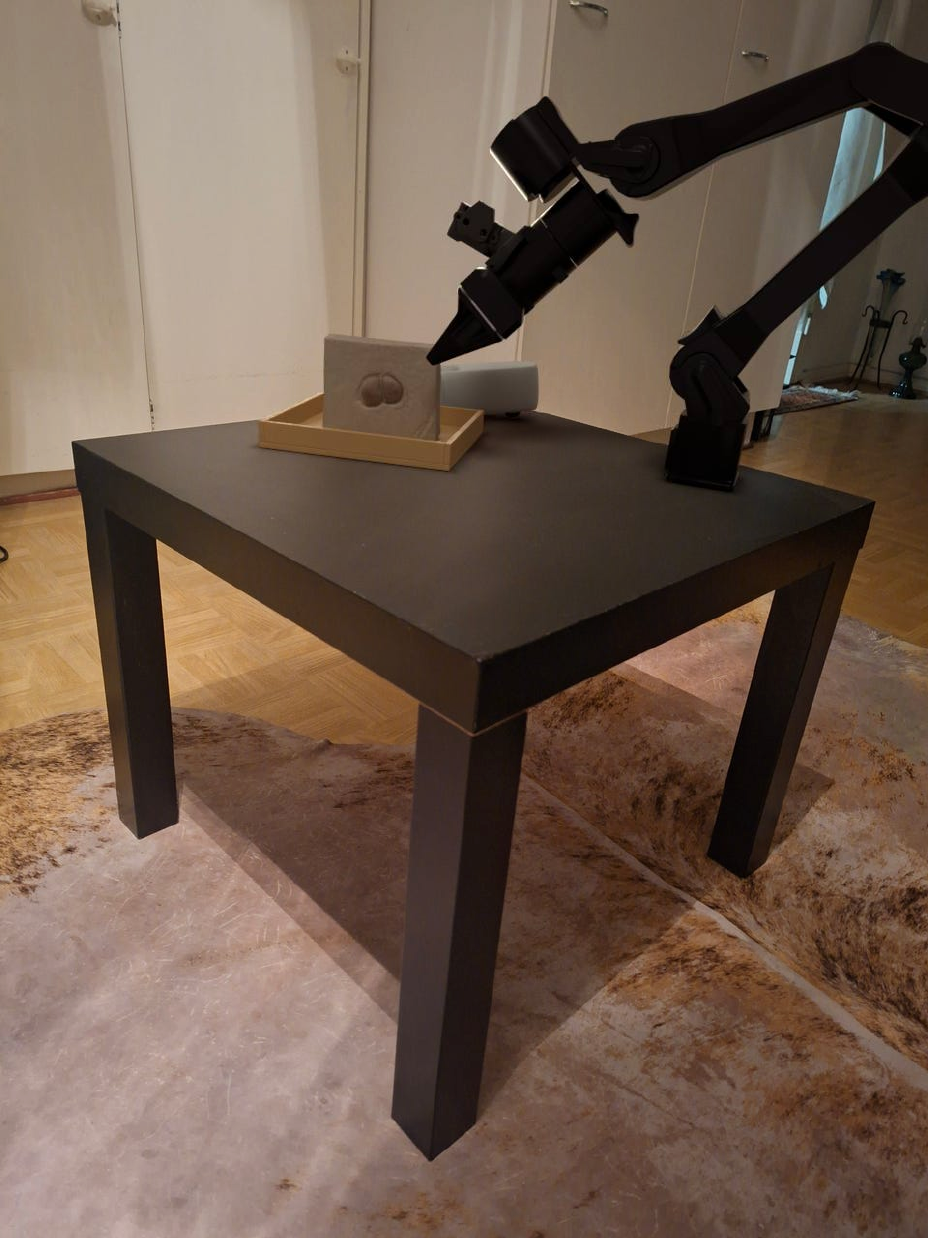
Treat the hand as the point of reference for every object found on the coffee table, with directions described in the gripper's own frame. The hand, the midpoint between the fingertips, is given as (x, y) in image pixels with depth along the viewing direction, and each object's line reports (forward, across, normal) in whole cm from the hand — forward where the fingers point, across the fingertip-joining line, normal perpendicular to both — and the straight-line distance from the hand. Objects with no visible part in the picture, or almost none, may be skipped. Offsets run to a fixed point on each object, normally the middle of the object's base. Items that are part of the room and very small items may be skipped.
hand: (436, 355), depth 84 cm
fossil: (+10, 0, +2) cm, 10 cm away
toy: (+5, -16, +9) cm, 19 cm away
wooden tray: (+10, 0, +2) cm, 11 cm away
